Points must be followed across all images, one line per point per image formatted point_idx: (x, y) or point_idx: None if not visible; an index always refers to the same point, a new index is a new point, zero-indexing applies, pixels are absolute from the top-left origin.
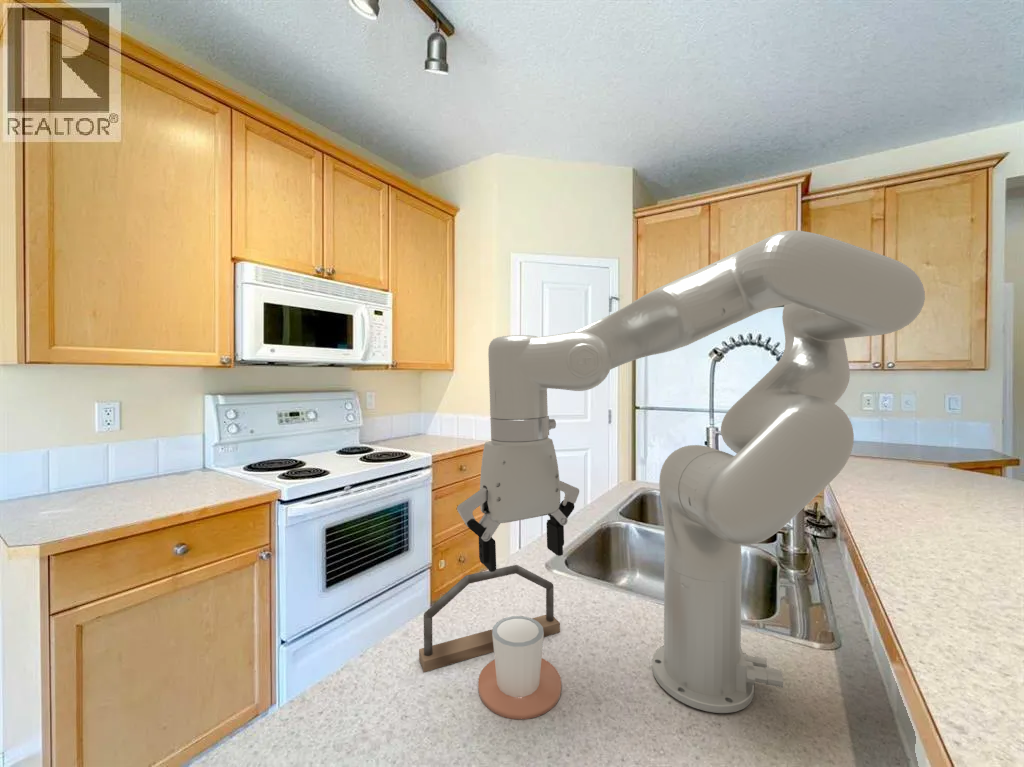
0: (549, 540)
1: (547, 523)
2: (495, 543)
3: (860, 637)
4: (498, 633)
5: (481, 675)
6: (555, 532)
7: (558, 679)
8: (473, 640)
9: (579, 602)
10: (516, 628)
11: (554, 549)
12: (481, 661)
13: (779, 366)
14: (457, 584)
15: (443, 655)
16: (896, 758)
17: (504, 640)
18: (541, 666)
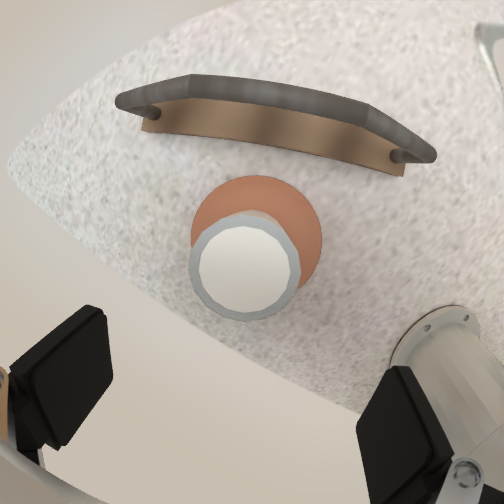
0: (391, 409)
1: (419, 458)
2: (68, 442)
3: None
4: (203, 256)
5: (210, 197)
6: (376, 483)
7: (305, 276)
8: (236, 119)
9: (468, 138)
10: (245, 263)
11: (367, 421)
12: (235, 155)
13: None
14: (163, 89)
15: (171, 131)
16: None
17: (199, 285)
18: (304, 237)
